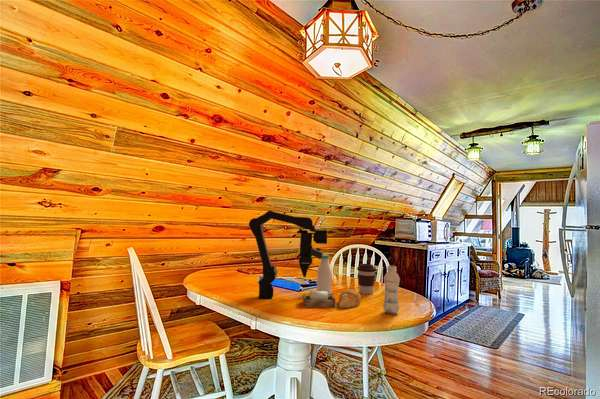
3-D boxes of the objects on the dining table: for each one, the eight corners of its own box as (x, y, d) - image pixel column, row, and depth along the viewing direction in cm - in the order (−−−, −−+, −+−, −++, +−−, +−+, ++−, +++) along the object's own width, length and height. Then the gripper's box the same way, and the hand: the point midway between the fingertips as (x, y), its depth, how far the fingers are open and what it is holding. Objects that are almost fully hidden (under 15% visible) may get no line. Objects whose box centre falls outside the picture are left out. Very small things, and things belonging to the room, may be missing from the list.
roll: (309, 303, 145) (310, 292, 145) (309, 301, 150) (309, 290, 150) (328, 303, 145) (328, 292, 146) (326, 301, 150) (327, 290, 151)
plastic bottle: (380, 310, 141) (381, 264, 142) (395, 310, 141) (396, 265, 142) (385, 315, 134) (386, 267, 135) (401, 315, 135) (402, 267, 136)
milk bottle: (330, 295, 164) (331, 256, 165) (315, 294, 166) (316, 255, 166) (332, 292, 172) (333, 254, 172) (317, 291, 173) (318, 253, 174)
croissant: (346, 318, 140) (354, 303, 138) (328, 304, 144) (335, 289, 143) (362, 306, 158) (370, 292, 156) (346, 293, 163) (353, 280, 161)
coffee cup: (354, 293, 170) (355, 265, 170) (358, 289, 179) (359, 262, 180) (373, 296, 166) (374, 266, 167) (376, 291, 175) (377, 264, 176)
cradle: (303, 306, 143) (304, 297, 143) (302, 301, 151) (303, 293, 151) (335, 307, 144) (335, 298, 144) (332, 302, 152) (332, 293, 152)
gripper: (324, 245, 148) (322, 280, 147) (320, 242, 166) (319, 272, 166) (299, 244, 148) (298, 278, 147) (299, 240, 166) (297, 271, 166)
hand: (304, 275), depth 156 cm, fingers open, 9 cm apart
